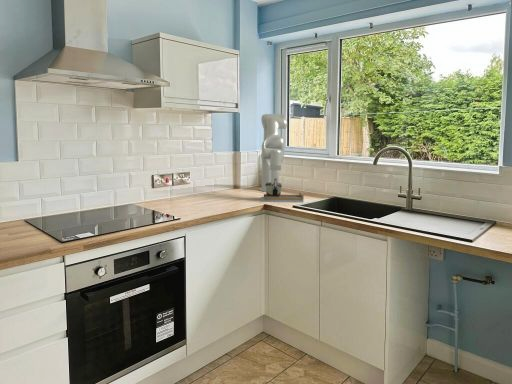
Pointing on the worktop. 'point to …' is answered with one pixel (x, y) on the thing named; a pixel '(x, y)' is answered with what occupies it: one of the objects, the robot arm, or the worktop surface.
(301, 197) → the keyway board
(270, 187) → the food container
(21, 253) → the worktop surface
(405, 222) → the worktop surface
